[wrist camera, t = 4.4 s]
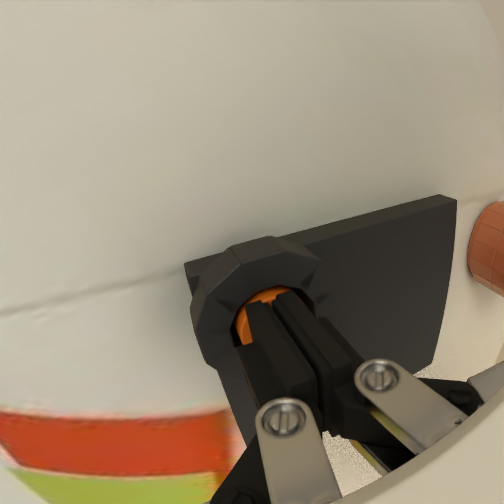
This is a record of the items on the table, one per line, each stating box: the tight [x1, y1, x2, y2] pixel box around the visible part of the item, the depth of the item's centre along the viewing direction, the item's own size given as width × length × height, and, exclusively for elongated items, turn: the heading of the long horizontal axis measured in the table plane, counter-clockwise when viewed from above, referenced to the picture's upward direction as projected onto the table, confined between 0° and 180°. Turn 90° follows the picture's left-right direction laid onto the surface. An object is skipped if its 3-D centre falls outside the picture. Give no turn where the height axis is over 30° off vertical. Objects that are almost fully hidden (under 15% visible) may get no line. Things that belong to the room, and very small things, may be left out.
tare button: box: [233, 285, 306, 345], centre depth 11 cm, size 3×3×2 cm
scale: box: [184, 194, 457, 447], centre depth 14 cm, size 13×14×3 cm
